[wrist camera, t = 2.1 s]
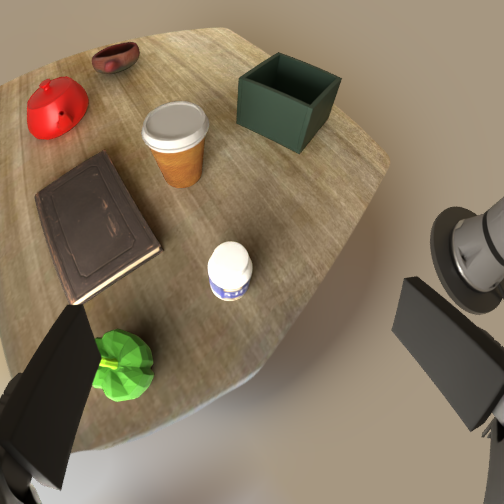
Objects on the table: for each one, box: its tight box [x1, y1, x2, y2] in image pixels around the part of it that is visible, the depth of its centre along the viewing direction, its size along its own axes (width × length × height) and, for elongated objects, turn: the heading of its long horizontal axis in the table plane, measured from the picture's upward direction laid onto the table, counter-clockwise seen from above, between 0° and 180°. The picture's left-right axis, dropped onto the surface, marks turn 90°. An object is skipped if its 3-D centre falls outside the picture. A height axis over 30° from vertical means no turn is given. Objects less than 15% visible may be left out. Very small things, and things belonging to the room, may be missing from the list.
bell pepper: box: [92, 329, 154, 402], centre depth 30 cm, size 8×8×10 cm
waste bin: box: [236, 52, 342, 154], centre depth 49 cm, size 14×14×11 cm
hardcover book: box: [35, 149, 163, 305], centre depth 41 cm, size 16×23×2 cm
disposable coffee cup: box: [141, 101, 209, 188], centre depth 41 cm, size 10×10×12 cm
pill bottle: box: [208, 241, 252, 301], centre depth 36 cm, size 5×5×9 cm
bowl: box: [92, 42, 140, 74], centre depth 56 cm, size 16×13×8 cm
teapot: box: [27, 76, 89, 140], centre depth 46 cm, size 25×16×12 cm, turn 43°
